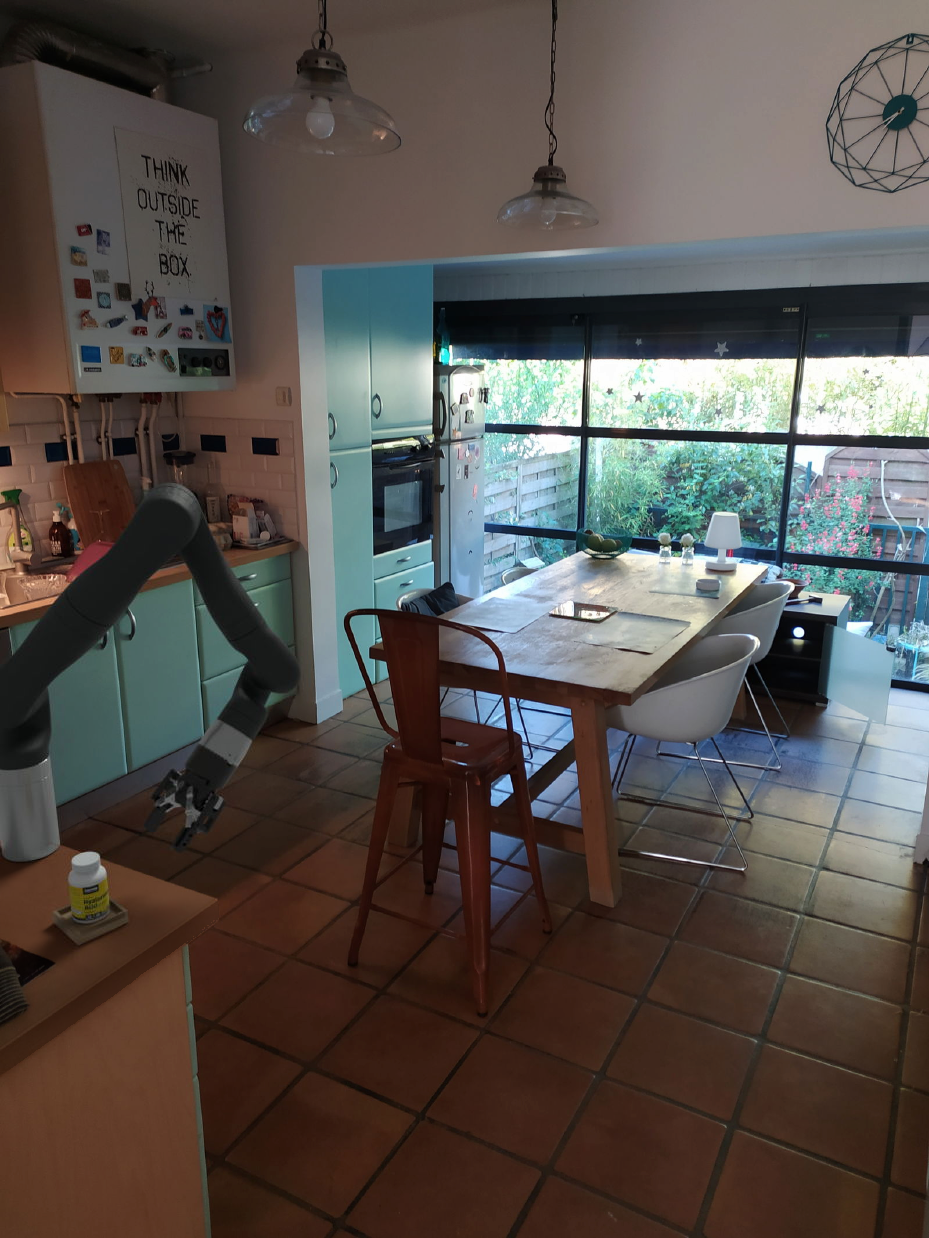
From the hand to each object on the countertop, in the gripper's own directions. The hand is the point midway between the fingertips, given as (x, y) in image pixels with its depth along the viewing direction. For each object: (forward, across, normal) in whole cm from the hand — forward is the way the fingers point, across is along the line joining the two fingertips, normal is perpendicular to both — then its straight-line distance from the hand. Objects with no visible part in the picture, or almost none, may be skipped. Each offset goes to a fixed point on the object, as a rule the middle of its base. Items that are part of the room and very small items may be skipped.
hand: (161, 840), depth 147 cm
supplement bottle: (+14, 0, -3) cm, 15 cm away
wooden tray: (+15, 0, -3) cm, 15 cm away
